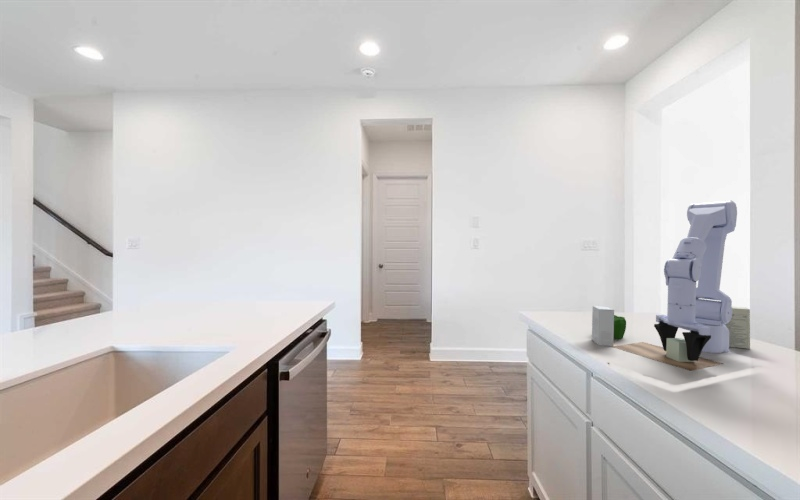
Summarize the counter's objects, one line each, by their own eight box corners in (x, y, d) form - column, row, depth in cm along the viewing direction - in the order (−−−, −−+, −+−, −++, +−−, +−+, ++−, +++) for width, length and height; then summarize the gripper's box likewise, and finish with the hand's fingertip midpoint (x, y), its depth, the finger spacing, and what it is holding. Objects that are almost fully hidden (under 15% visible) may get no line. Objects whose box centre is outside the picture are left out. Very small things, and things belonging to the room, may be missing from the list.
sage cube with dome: (666, 356, 91) (666, 337, 91) (680, 356, 91) (681, 337, 91) (678, 361, 87) (679, 341, 87) (693, 361, 87) (694, 341, 87)
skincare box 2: (745, 346, 106) (746, 307, 105) (750, 349, 102) (751, 309, 102) (718, 342, 109) (719, 305, 109) (721, 345, 105) (722, 307, 105)
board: (642, 345, 105) (642, 341, 105) (723, 368, 86) (723, 363, 86) (611, 350, 100) (611, 346, 100) (690, 375, 81) (690, 370, 81)
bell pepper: (600, 335, 117) (601, 306, 117) (628, 340, 111) (629, 310, 111) (592, 339, 111) (592, 309, 111) (621, 345, 105) (621, 313, 105)
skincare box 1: (614, 349, 100) (614, 309, 100) (598, 348, 101) (599, 309, 101) (605, 344, 106) (606, 306, 106) (591, 343, 107) (591, 305, 107)
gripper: (645, 299, 96) (644, 346, 96) (690, 309, 82) (689, 365, 82) (670, 299, 96) (668, 346, 96) (719, 309, 82) (717, 365, 82)
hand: (680, 355), depth 89 cm, fingers open, 7 cm apart
